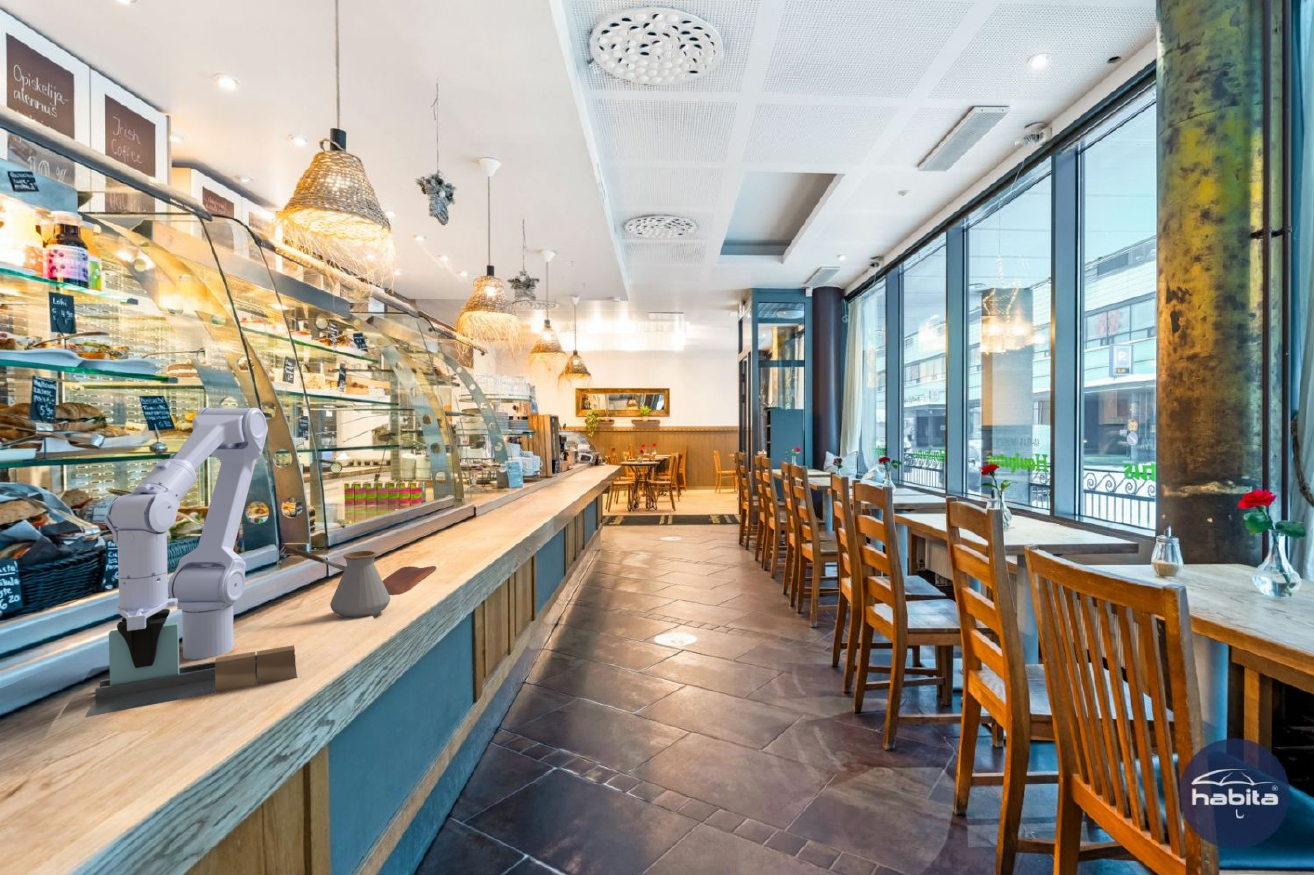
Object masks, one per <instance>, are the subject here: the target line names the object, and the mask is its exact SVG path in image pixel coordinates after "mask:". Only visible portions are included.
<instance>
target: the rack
mask: <svg viewBox="0 0 1314 875" xmlns="http://www.w3.org/2000/svg"><path fill="white" fill-rule="evenodd" d="M255 666H256V685H253V686H248V687H247V688H249V687H250V688H251V687H255V686H260V685H262V684H258V685H257V654H255ZM296 666H297V664H296V662H295V678H291V679H290V680H292V679H298V675H297V673H298V672H297V667H296ZM288 680H289V679H285V680H280V681H275V682H274V683H278V682H282V681H288ZM271 683H273V682H269V683H264V684H263V685H265V684H271ZM244 688H246V687H242V688H237V689H236V690H238V689H244ZM233 690H235V689H231V690H226V691H221V692H220V693H223V692H227V691H233ZM218 693H219V692H216V688H215V661H208V662H203V663H199V664H193V665H192V664H191V665H186V666H179V674H175V675H169V676H163V677H157V678H151V679H145V680H139V681H133V682H127V683H121V684H115V685H110V678H106V679H100V681H99V686H98V687H95V688H94V694H95V695H94V696H95V700H94V701H93V703H92V705H91V706H90V708H89V710H88V712H87V713H86V715H85V718H88V717H94V716H99V715H103V714H104V715H105V714H109V713H116V712H120V711H126V710H131V709H137V708H142V707H148V706H153V705H159V704H164V703H169V702H174V701H180V700H187V699H191V698H196V697H201V696H207V695H212V694H218Z"/></svg>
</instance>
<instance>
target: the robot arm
mask: <svg viewBox="0 0 1314 875" xmlns="http://www.w3.org/2000/svg"><path fill="white" fill-rule="evenodd" d="M191 425H192V432H191V434H190V435H189V436H188V437H187V439H186V440H185V441H184V443H183V444H182V446H181V447H180V449H179V450H178V451H177V452H176V454H175V456H173V458H166V459H163V460H159V461H157V463H156V464H155V465H154V467H153V469H151V471H150V472H149V473H148V474H147V475H146V476H145V478H144V479H143V480H141V482H140V483H139V484H138V485H137V486H136V487H135V488H134V489H133V491H131V492H130V493H129V494H123V495H121V496H119V497H118V498H116V499H115V500H113V502H112V503H111V504H110V505H109V508H108V511H107V515H105V523H106V525H107V528H108V529H109V530H110V531H111V533H112V542H113V543H114V545H116V546H117V568H118V569H117V571H118V606H117V613H118V614H119V615H120V616H122V619H121V621H119V622H118V623H117V624H116V630H118V631H119V633H120V634H121V635H122V636H123V638H124V639H125V641H126V643H127V645H128V648H129V651H130V654H131V658H132V661H133V664H134V666H135V668H140V667H147V666H152V665H153V663H154V660H155V656H156V650H157V643H158V639H159V635H160V632H161V629H162V627H163V625H164V624H165V623H166V622H167V619H168V617H169V615H170V613H171V610H170V609H168V607H173V606H174V607H175V606H176V609H177V610H181V621H182V622H181V624H182V626H181V628H182V631H181V632H182V634H181V635H182V657H183V658H184V659H187V660H204V659H205V660H206V659H210V658H211V659H212V658H217V657H220V656H222V655H224V654H225V655H226V654H228V653H229V652H232V651H233V649H234V648H235V647H234V646H235V644H234V637H235V636H234V633H235V632H234V604H236V603H237V602H238V601H239V599H240V598H241V597H242V595H243V593H244V590H245V588H246V567H247V562H245V560H244V559H243V558H242V557H241V556H240V555H239V554H237V553H236V552H235V551H234V548H235V545H236V541H237V540H236V539H237V536H238V533H239V529H240V524H241V521H242V519H243V513H244V508H245V505H246V502H247V498H248V493H249V489H250V486H251V482H252V480H253V474H254V470H255V466H256V463H257V459H258V458H260V457H261V456H262V454H263V450H264V446H265V442H266V439H267V435H268V430H269V427H268V423H267V420H266V416H265V415H264V413H263V411H262V410H261V409H260V408H257V407H250V408H248V407H247V408H240V407H239V408H238V407H237V408H234V407H233V408H227V407H226V408H225V407H222V408H221V407H215V408H214V407H209V406H208V407H207V406H206V407H201V409H200V410H198V412H197V414H196V415H195V416H194V417H193V418H192V423H191ZM210 456H211V457H213V458H216V459H218V460H219V462H220V466H219V470H218V474H217V477H216V480H215V485H214V488H213V491H212V495H211V499H210V502H209V506H208V509H207V514H206V516H205V520H204V523H203V527H202V532H201V534H200V538H199V542H198V545H197V547H196V548H194V549H192V550H191V551H190V552H189V553H186V554H185V555H184V556H182V557H180V558H179V562H178V564H177V567H176V569H175V571H174V572H173V573H172V575H171V577H169V579H168V576H169V575H168V574H169V573H168V536H167V535H168V532H167V531H168V530H170V529H171V528H172V527H173V526H174V525H175V522H176V521H177V515H178V510H179V509H180V506H181V501H182V499H183V498H184V497H185V496H186V495H187V493H188V492H189V491H190V490H191V488H192V487H193V486H194V485H195V483H196V482H197V480H198V479H197V478H198V476H197V472H196V470H197V469H198V468H199V467H200V466H201V465H202V464H203V463H204V462H205V461H206V460H207V459H208V458H209V457H210ZM168 580H169V581H168Z"/></svg>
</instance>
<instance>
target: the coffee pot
mask: <svg viewBox="0 0 1314 875" xmlns="http://www.w3.org/2000/svg"><path fill="white" fill-rule="evenodd" d="M283 550H284V551H283ZM286 551H290V552H292V554H297V555H299V556H301V557H303V558H306V559H307V560H311V561H315V562H318V563H321V564H325V565H327V566H329V567H332V568H336V569H338V570H340V571H343V573H342V575H341V578H340V580H339V582H338V584H337V587H336V590H335V591H334V594H333V596H332V599H331V601H330V603H329V604H330V609H331V610H332V612H333V613H334V614H336V615H337V616H339V617H340V618H341V619H342V620H344V619H352V618H357V617H358V618H360V617H366V616H371V615H372V617H373V618H375V617H378V616H379V615H381V613H382V611H384V610H385V609H387V607H388V605H389V604H390V601H391V595H389V594H388V592H387V590H386V588H385V586H384V583H383V579H382V578H381V575H380V573H379V571H378V569H377V567H376V565H375V563H374V562H375V559H376V556H377V555H378V552H377V551H373V550H359V551H352V552H347V553H345V554H343V556H342V557H343V559H345V563H346V565H343V564H339V563H338V562H337V563H336V562H335V561H334V562H333V561H331V560H328V559H326V558H323V557H321V556H318V555H316V554H314V553H311V552H309V551H306V550H302V549H298V548H297V547H292V546H290V545H283V547H282V548H281V549H280V551H279V555H281V556H282V555H284V554H285V552H286Z"/></svg>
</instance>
